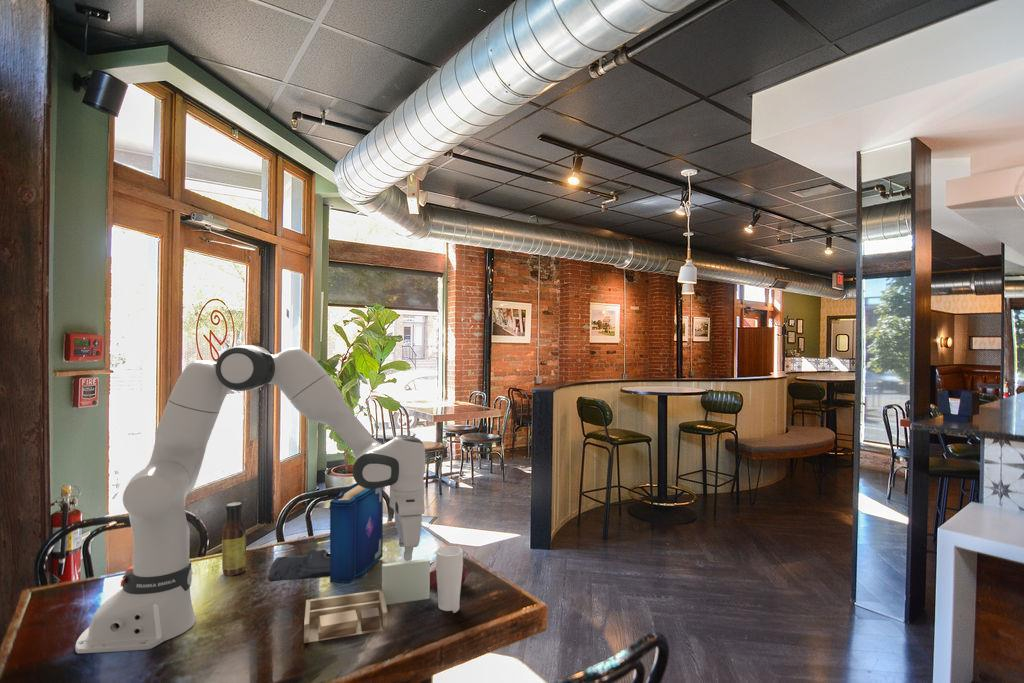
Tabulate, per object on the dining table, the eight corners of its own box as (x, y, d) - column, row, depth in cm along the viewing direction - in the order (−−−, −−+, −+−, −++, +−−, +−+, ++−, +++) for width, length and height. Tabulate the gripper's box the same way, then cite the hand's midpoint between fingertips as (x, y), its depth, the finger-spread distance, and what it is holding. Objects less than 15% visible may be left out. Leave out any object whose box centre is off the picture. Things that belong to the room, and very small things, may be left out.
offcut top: (320, 633, 117) (320, 626, 117) (319, 622, 122) (319, 616, 122) (357, 626, 121) (358, 619, 121) (355, 616, 125) (355, 609, 125)
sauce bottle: (250, 571, 156) (251, 503, 156) (229, 578, 150) (230, 508, 150) (237, 565, 159) (239, 499, 159) (216, 573, 154) (218, 504, 154)
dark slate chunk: (275, 562, 163) (275, 547, 163) (349, 556, 169) (350, 541, 169) (265, 584, 148) (265, 567, 148) (347, 576, 154) (347, 560, 154)
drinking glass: (451, 601, 139) (452, 543, 139) (467, 610, 134) (468, 551, 134) (429, 609, 134) (430, 550, 134) (446, 619, 129) (447, 558, 129)
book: (349, 590, 144) (350, 498, 145) (325, 587, 146) (327, 496, 146) (383, 559, 166) (384, 479, 166) (362, 557, 167) (363, 477, 167)
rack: (303, 648, 116) (304, 624, 116) (305, 621, 128) (306, 599, 128) (387, 634, 122) (387, 612, 122) (382, 610, 133) (382, 589, 134)
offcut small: (361, 631, 121) (361, 618, 121) (360, 622, 125) (360, 610, 125) (379, 628, 123) (379, 615, 123) (377, 620, 126) (378, 607, 126)
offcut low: (318, 639, 118) (318, 632, 118) (318, 628, 122) (318, 621, 122) (355, 633, 120) (355, 626, 120) (354, 622, 125) (354, 616, 125)
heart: (419, 577, 151) (426, 597, 142) (421, 552, 150) (428, 570, 141) (460, 573, 155) (469, 592, 146) (462, 548, 154) (471, 565, 145)
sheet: (382, 610, 134) (382, 566, 134) (381, 607, 135) (382, 564, 135) (429, 603, 138) (429, 560, 138) (428, 600, 139) (428, 558, 139)
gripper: (390, 489, 145) (388, 539, 145) (399, 511, 126) (397, 569, 126) (413, 487, 148) (411, 537, 147) (426, 509, 128) (424, 566, 128)
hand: (405, 552), depth 136 cm, fingers open, 8 cm apart
